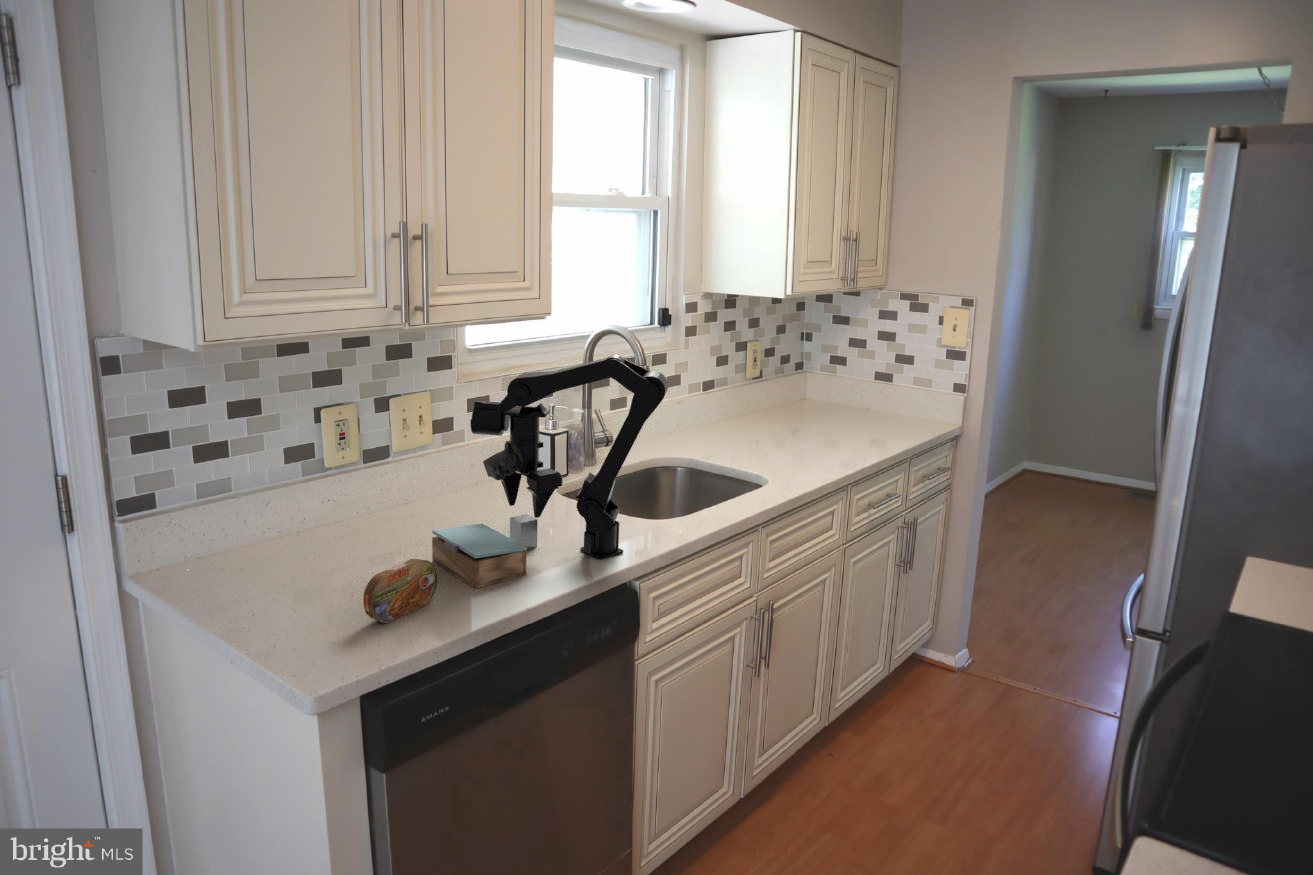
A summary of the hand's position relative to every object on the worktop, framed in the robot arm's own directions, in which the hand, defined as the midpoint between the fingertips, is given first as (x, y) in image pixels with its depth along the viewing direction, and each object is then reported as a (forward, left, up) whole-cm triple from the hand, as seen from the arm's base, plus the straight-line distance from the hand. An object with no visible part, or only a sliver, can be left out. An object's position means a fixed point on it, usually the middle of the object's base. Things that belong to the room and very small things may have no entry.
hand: (524, 511), depth 187 cm
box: (+14, +5, -8) cm, 16 cm away
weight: (0, 0, -8) cm, 8 cm away
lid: (+14, +5, -3) cm, 15 cm away
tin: (+34, +14, -8) cm, 38 cm away
